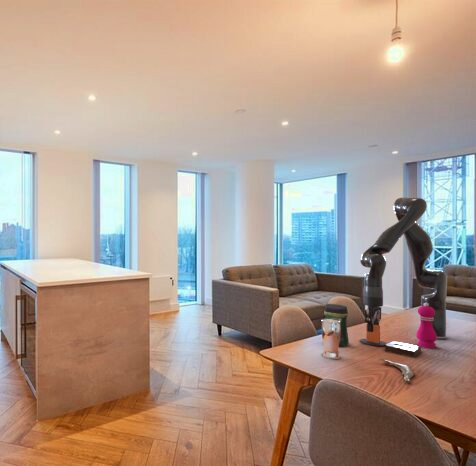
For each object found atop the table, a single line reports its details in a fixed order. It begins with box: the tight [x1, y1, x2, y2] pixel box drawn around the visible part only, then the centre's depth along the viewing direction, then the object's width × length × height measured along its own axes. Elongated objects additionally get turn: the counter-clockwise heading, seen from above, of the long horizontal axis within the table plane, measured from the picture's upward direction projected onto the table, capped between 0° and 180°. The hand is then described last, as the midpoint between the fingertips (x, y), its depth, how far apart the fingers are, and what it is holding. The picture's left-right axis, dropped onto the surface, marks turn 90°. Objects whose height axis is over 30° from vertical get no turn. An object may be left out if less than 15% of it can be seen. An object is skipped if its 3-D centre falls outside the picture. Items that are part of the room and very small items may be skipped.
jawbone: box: [376, 357, 415, 384], centre depth 123 cm, size 9×20×2 cm, turn 168°
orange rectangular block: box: [365, 323, 381, 344], centre depth 158 cm, size 2×5×8 cm, turn 37°
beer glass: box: [321, 318, 341, 360], centre depth 141 cm, size 7×7×15 cm
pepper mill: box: [415, 303, 438, 349], centre depth 154 cm, size 7×7×20 cm
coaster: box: [360, 338, 388, 348], centre depth 158 cm, size 10×10×1 cm
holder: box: [384, 340, 422, 358], centre depth 147 cm, size 10×10×2 cm
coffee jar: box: [323, 303, 350, 347], centre depth 158 cm, size 10×8×19 cm
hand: (373, 330), depth 158 cm, fingers open, 6 cm apart
